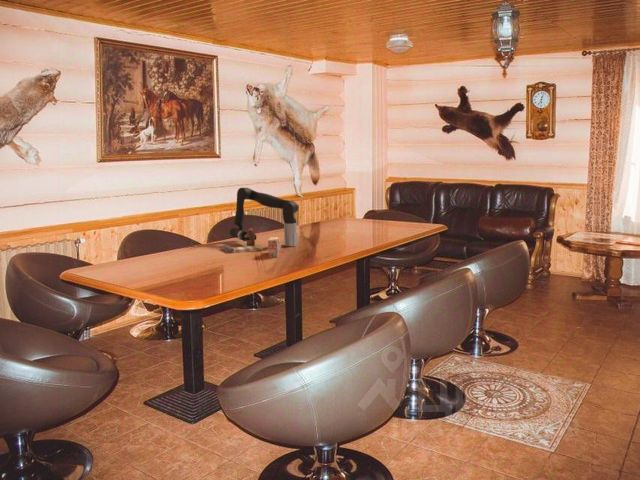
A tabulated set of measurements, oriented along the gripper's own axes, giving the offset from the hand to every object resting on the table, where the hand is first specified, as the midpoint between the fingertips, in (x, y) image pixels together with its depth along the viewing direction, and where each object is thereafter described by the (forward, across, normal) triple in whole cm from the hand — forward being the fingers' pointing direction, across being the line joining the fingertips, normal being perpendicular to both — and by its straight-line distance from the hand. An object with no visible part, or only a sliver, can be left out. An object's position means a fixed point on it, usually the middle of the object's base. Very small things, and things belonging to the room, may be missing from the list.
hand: (252, 238), depth 448 cm
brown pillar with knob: (-3, 0, +7) cm, 7 cm away
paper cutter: (+2, -8, +7) cm, 11 cm away
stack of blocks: (+31, +5, +7) cm, 32 cm away
